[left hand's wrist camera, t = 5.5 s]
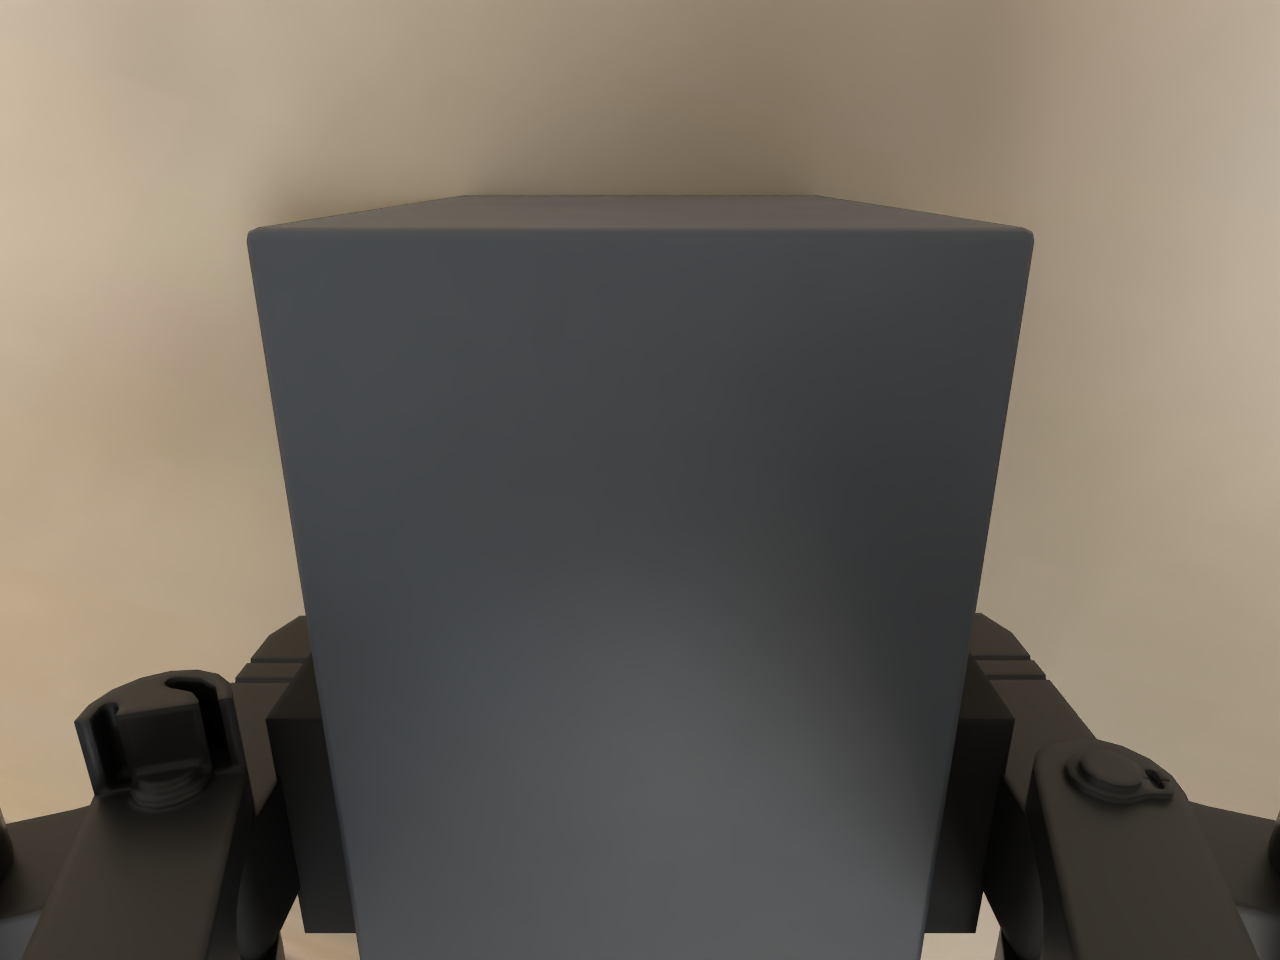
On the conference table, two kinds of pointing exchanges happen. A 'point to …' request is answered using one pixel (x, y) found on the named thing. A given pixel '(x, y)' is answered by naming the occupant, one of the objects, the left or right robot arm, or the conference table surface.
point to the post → (640, 560)
